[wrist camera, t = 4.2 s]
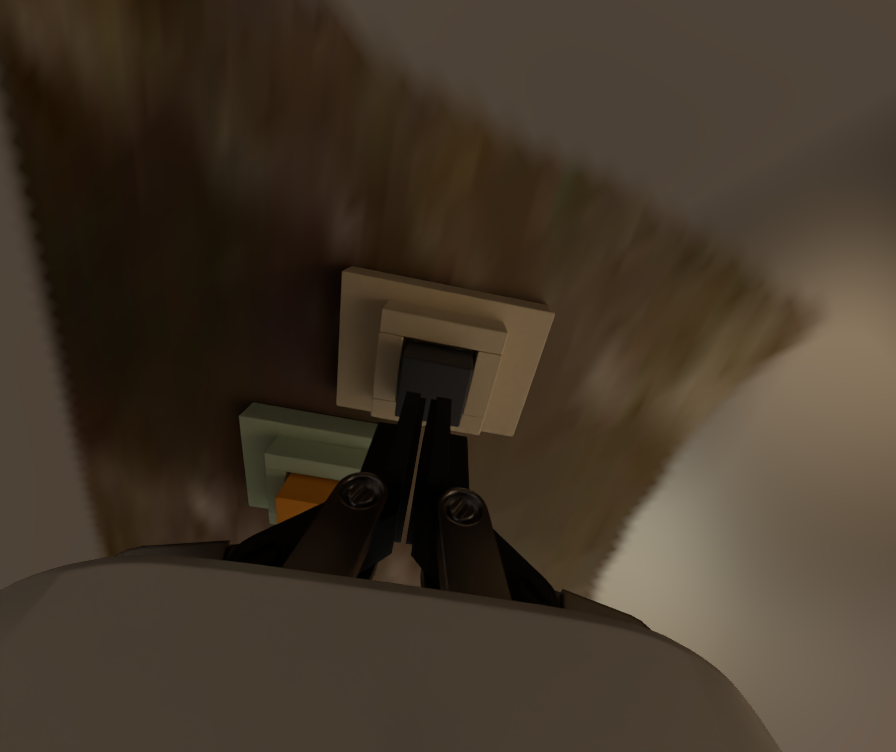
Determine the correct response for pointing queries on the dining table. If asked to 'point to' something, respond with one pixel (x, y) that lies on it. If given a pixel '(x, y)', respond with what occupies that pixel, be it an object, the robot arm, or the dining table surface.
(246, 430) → the key block
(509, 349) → the key block
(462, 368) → the key
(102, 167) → the dining table surface
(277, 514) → the key
